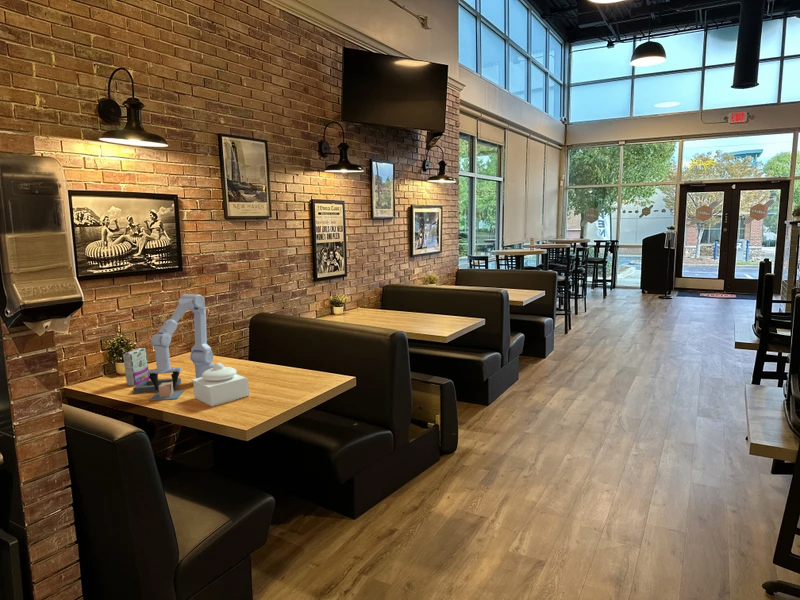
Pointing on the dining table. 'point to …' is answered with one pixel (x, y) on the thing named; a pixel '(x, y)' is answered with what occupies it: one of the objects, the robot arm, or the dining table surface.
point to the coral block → (166, 389)
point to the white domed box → (220, 385)
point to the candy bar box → (136, 366)
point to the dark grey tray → (151, 385)
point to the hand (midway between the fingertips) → (166, 388)
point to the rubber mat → (173, 396)
